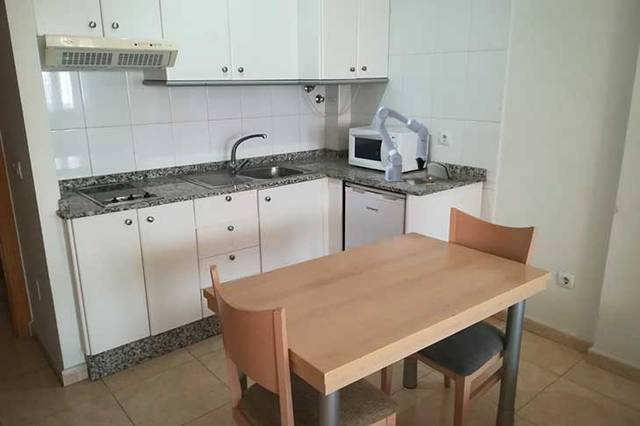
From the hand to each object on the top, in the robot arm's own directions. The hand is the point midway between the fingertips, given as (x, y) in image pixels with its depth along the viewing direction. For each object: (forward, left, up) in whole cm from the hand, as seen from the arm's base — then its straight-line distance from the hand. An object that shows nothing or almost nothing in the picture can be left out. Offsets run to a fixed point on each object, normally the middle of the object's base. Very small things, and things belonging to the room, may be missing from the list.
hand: (420, 170), depth 285 cm
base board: (-1, -5, -6) cm, 8 cm away
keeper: (-4, -8, -6) cm, 11 cm away
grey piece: (+16, +13, -7) cm, 22 cm away
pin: (+4, -7, -4) cm, 9 cm away
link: (0, -7, -5) cm, 9 cm away
